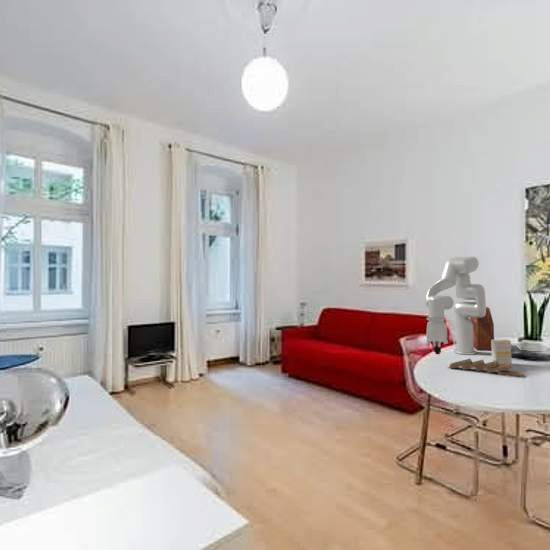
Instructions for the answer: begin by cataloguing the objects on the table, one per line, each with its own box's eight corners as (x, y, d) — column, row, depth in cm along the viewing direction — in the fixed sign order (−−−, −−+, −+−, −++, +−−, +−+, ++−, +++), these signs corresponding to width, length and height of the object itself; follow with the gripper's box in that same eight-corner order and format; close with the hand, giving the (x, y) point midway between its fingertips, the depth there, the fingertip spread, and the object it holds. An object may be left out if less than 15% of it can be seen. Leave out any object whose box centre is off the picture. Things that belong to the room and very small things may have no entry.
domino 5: (497, 371, 189) (521, 374, 182) (499, 369, 192) (523, 372, 186) (497, 375, 189) (521, 378, 182) (499, 373, 192) (523, 376, 186)
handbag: (487, 345, 261) (485, 293, 262) (494, 350, 243) (492, 295, 243) (470, 345, 264) (468, 294, 265) (476, 350, 246) (474, 295, 246)
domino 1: (449, 365, 202) (469, 360, 196) (451, 363, 206) (470, 358, 200) (450, 368, 201) (470, 364, 196) (452, 366, 205) (472, 362, 200)
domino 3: (474, 367, 195) (494, 362, 189) (477, 365, 199) (497, 360, 193) (476, 371, 195) (496, 366, 189) (479, 369, 199) (499, 364, 192)
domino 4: (485, 369, 192) (507, 365, 185) (488, 367, 195) (510, 363, 189) (487, 373, 191) (509, 369, 185) (490, 370, 195) (511, 367, 188)
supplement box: (507, 363, 210) (506, 339, 210) (511, 365, 205) (511, 340, 205) (491, 363, 211) (490, 339, 211) (495, 365, 206) (495, 340, 206)
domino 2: (461, 366, 198) (481, 361, 193) (463, 364, 203) (483, 359, 197) (463, 370, 198) (483, 365, 193) (464, 368, 202) (484, 363, 197)
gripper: (420, 320, 209) (421, 353, 209) (450, 321, 200) (451, 356, 200) (424, 318, 215) (425, 351, 215) (453, 319, 206) (454, 354, 206)
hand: (437, 353), depth 208 cm, fingers closed
